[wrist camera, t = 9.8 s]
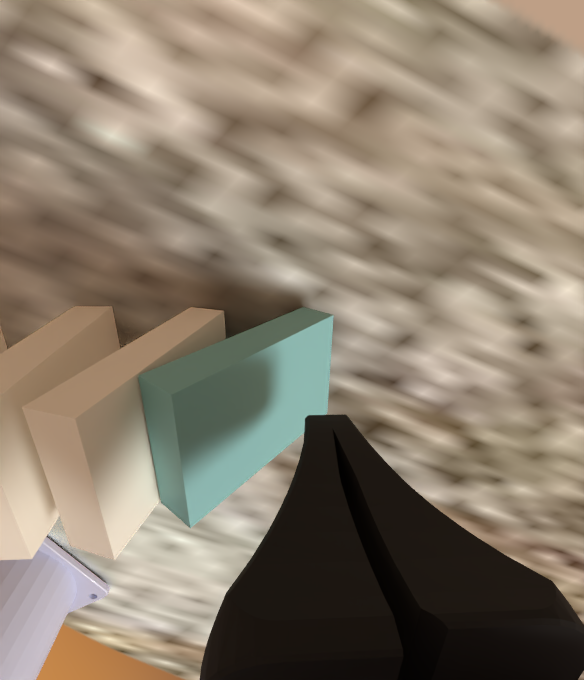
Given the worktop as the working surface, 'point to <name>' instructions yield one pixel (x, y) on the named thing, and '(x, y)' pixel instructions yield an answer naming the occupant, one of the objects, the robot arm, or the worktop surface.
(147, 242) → the worktop surface
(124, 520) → the domino
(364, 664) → the robot arm
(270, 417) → the end tile
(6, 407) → the domino
